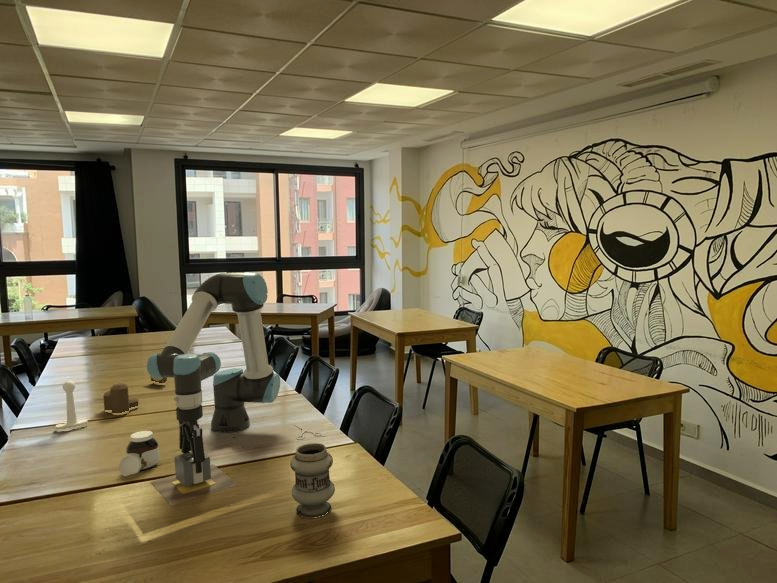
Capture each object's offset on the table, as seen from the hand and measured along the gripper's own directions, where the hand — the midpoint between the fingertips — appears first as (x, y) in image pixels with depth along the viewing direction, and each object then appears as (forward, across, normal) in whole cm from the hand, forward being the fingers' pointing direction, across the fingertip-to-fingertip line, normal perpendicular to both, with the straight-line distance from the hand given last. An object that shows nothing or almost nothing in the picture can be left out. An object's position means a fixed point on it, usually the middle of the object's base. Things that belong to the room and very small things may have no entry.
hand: (193, 477), depth 167 cm
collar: (0, 0, 0) cm, 0 cm away
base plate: (+3, 0, 0) cm, 3 cm away
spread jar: (+4, -25, -9) cm, 27 cm away
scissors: (+4, -20, +51) cm, 55 cm away
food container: (+3, -132, +30) cm, 136 cm away
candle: (+3, -97, +2) cm, 97 cm away
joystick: (+3, -88, -19) cm, 90 cm away
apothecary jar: (+4, +36, +21) cm, 42 cm away
